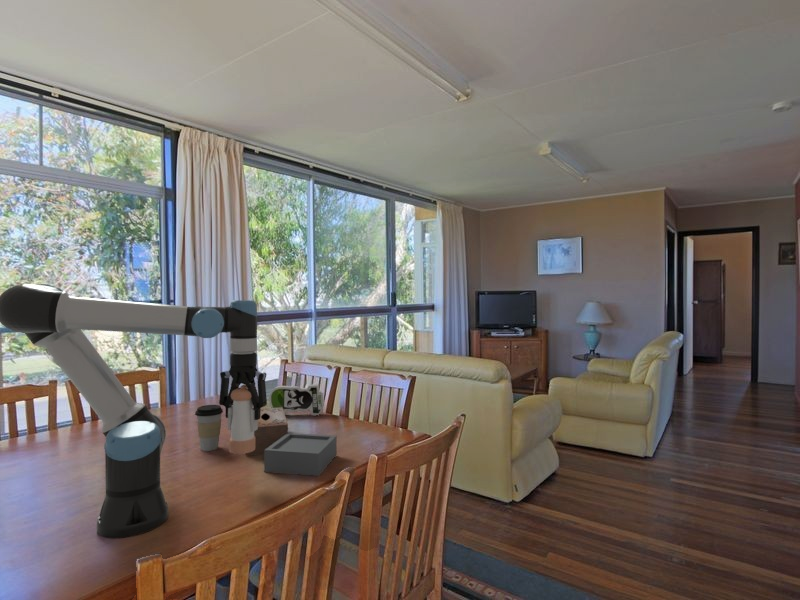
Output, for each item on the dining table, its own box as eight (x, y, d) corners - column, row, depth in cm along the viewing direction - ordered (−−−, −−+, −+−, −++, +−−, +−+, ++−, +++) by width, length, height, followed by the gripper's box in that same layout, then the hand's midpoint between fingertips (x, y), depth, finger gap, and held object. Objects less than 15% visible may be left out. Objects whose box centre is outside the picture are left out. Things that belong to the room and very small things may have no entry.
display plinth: (318, 476, 140) (318, 453, 140) (264, 472, 143) (264, 450, 143) (336, 455, 158) (336, 435, 158) (287, 452, 161) (287, 432, 161)
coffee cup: (213, 453, 159) (212, 411, 159) (189, 451, 161) (189, 409, 161) (228, 444, 169) (228, 404, 168) (205, 443, 170) (205, 403, 170)
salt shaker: (260, 448, 136) (261, 384, 135) (241, 455, 129) (241, 388, 129) (244, 444, 139) (244, 382, 139) (224, 451, 133) (224, 386, 133)
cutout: (325, 385, 213) (271, 381, 210) (325, 386, 210) (270, 382, 208) (323, 417, 213) (268, 414, 211) (322, 418, 210) (267, 415, 208)
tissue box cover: (287, 452, 162) (287, 424, 162) (245, 456, 157) (245, 428, 157) (282, 431, 186) (282, 407, 186) (245, 434, 182) (245, 410, 182)
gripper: (280, 351, 136) (279, 428, 136) (220, 349, 139) (219, 424, 140) (268, 354, 129) (267, 435, 129) (205, 352, 132) (205, 431, 132)
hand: (242, 429), depth 134 cm, fingers closed on salt shaker, 7 cm apart
